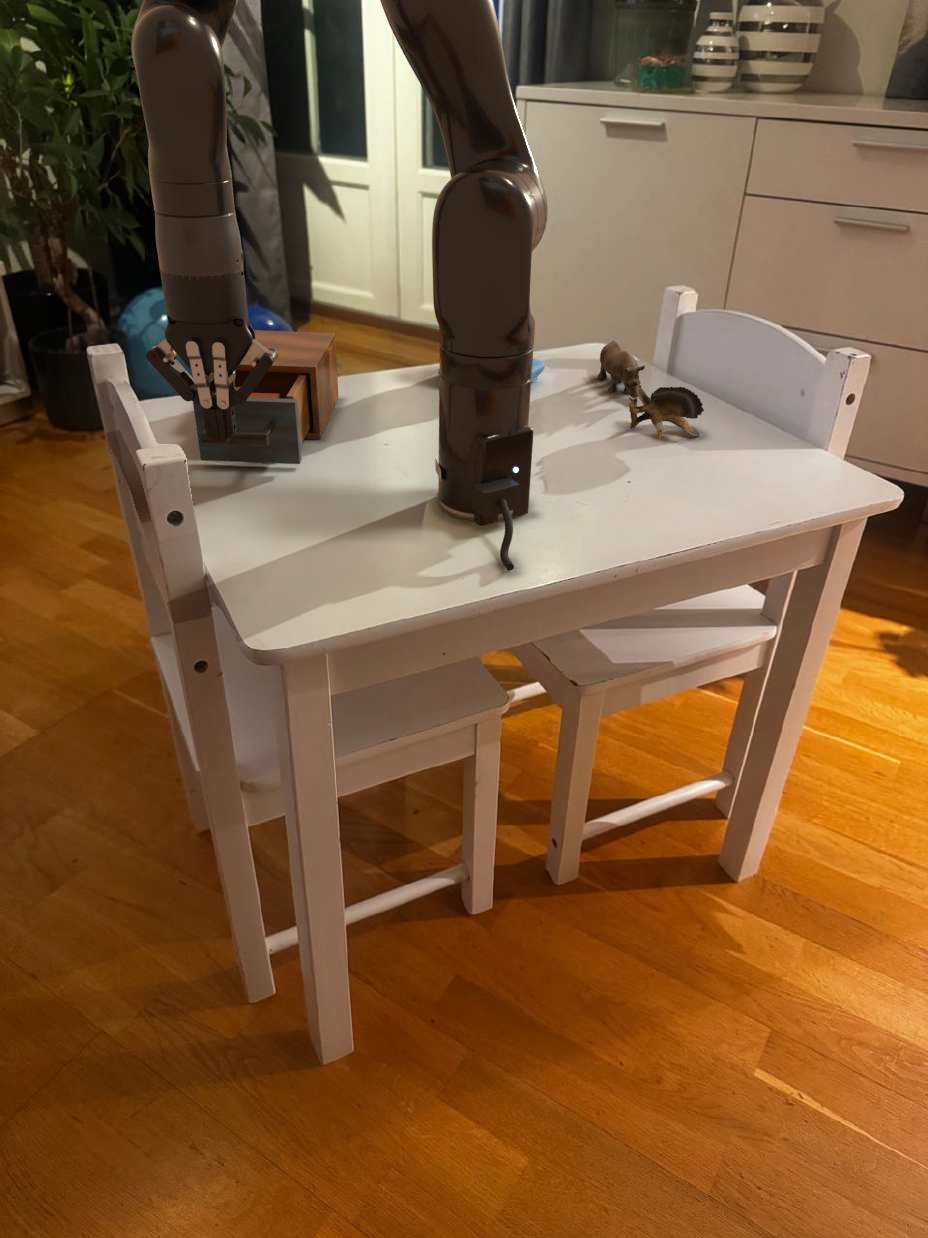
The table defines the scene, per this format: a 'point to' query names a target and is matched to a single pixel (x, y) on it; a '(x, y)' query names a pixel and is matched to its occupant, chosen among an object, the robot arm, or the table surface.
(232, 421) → the robot arm
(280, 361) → the cabinet
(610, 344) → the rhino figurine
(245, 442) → the drawer
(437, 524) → the table surface
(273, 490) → the table surface
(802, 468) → the table surface
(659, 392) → the brown plastic figure
